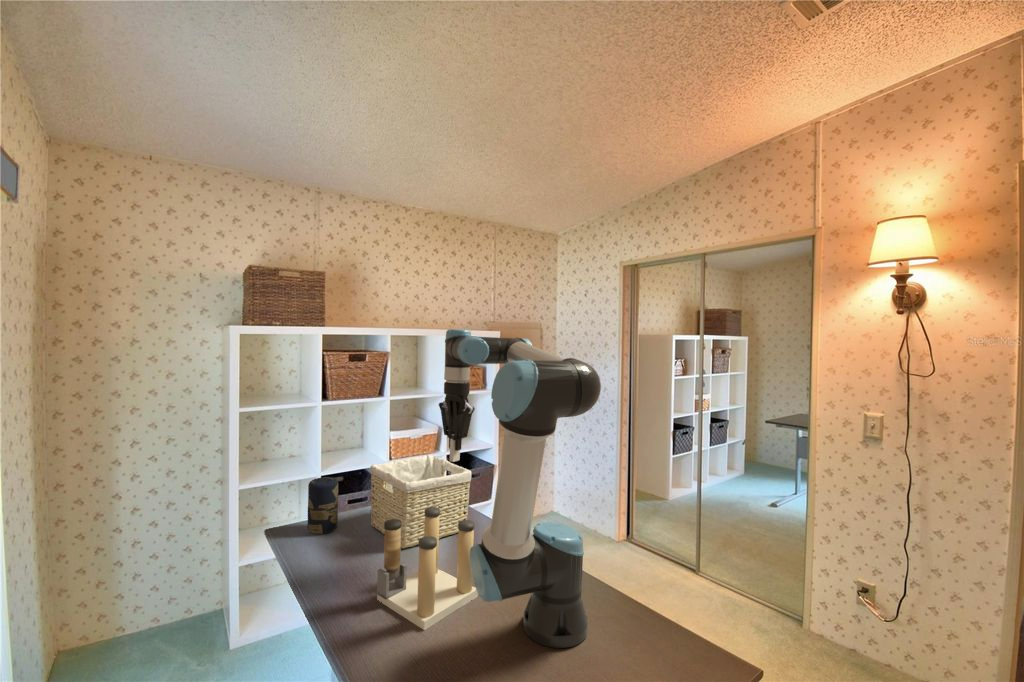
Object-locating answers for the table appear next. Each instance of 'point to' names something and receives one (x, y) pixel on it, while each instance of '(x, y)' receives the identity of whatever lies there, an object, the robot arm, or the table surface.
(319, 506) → the canister
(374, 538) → the table surface
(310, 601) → the table surface
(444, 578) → the stool seat
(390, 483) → the basket
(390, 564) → the hinged leg
